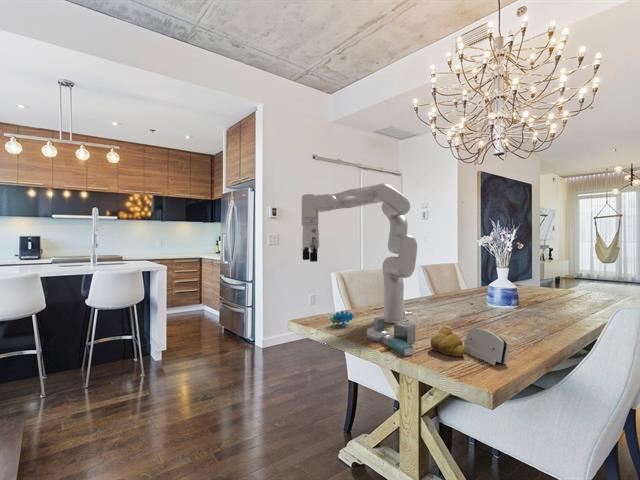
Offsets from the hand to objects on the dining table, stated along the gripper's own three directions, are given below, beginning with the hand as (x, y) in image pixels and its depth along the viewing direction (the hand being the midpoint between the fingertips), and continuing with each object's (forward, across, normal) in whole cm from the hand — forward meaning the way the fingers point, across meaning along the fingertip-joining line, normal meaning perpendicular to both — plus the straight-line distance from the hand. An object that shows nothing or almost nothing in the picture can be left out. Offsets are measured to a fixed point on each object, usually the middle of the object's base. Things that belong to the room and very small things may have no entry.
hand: (309, 260), depth 149 cm
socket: (+31, -30, -29) cm, 52 cm away
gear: (+31, 0, -16) cm, 35 cm away
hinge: (+31, -53, -46) cm, 77 cm away
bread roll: (+31, -45, -37) cm, 66 cm away
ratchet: (+31, -30, -22) cm, 48 cm away
